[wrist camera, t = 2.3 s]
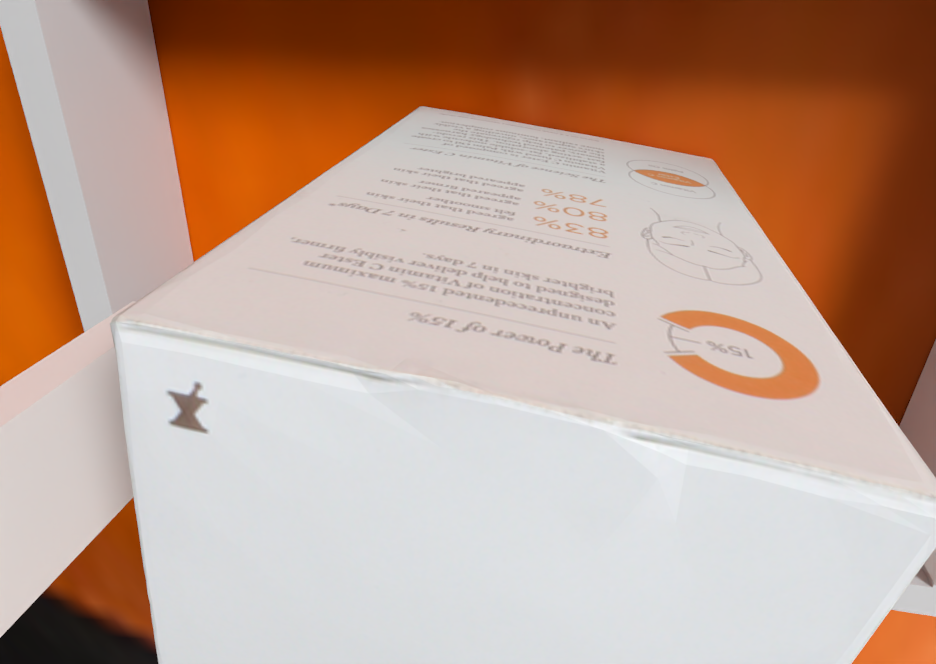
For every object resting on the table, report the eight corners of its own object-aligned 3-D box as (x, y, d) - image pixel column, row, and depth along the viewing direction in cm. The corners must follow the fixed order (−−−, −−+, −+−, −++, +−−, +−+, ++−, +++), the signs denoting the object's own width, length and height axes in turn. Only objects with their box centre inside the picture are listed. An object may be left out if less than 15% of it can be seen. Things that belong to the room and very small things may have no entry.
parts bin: (196, 419, 24) (128, 492, 20) (93, -101, 16) (-41, -126, 13) (898, 514, 21) (959, 620, 17) (1166, -79, 13) (1371, -105, 10)
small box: (395, 309, 20) (146, 708, 9) (417, 100, 17) (82, 305, 6) (653, 364, 20) (731, 867, 8) (722, 156, 17) (990, 506, 5)
